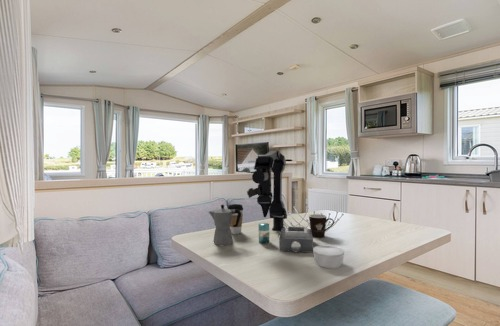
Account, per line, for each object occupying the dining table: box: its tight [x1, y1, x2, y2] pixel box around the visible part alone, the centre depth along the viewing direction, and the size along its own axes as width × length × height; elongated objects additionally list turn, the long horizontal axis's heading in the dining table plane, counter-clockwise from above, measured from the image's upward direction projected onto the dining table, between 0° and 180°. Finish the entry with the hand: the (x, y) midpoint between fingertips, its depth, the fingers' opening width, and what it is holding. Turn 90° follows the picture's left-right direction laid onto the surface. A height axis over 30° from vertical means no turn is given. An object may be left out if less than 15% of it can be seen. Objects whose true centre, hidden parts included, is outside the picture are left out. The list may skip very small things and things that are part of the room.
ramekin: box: [312, 244, 345, 269], centre depth 101 cm, size 11×11×5 cm
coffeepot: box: [208, 204, 241, 246], centre depth 128 cm, size 15×9×18 cm, turn 92°
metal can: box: [258, 222, 270, 245], centre depth 127 cm, size 5×5×8 cm
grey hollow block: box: [278, 225, 314, 253], centre depth 121 cm, size 18×14×7 cm
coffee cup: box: [227, 203, 244, 235], centre depth 144 cm, size 8×8×15 cm
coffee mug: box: [308, 213, 335, 239], centre depth 135 cm, size 12×9×10 cm
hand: (265, 214), depth 127 cm, fingers open, 9 cm apart
